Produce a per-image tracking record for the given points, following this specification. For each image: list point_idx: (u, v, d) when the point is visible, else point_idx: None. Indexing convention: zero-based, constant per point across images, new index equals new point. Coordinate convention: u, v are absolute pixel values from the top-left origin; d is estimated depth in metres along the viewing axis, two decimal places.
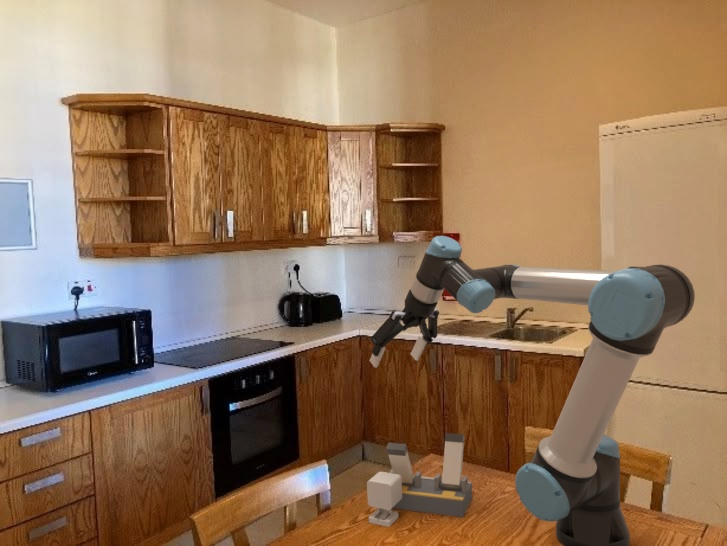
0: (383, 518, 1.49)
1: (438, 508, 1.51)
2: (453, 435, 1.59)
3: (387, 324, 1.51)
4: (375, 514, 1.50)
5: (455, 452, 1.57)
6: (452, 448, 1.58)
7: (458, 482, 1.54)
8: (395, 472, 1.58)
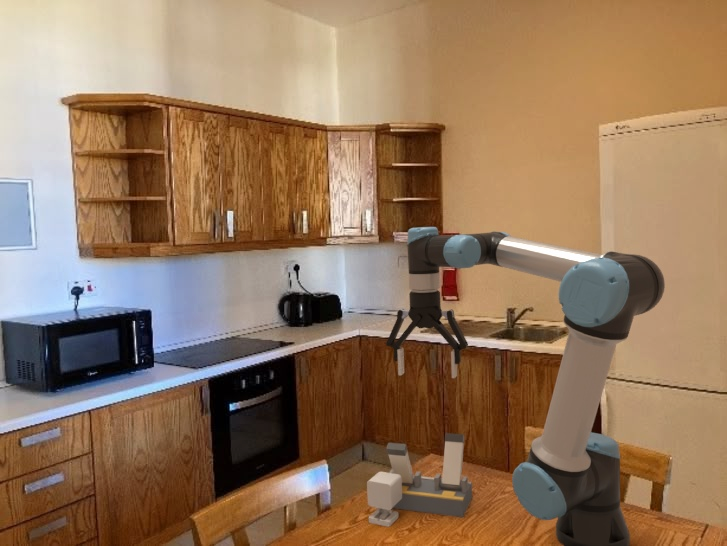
0: (383, 518, 1.49)
1: (438, 508, 1.51)
2: (453, 435, 1.59)
3: None
4: (375, 514, 1.50)
5: (455, 452, 1.57)
6: (452, 448, 1.58)
7: (458, 482, 1.54)
8: (395, 472, 1.58)
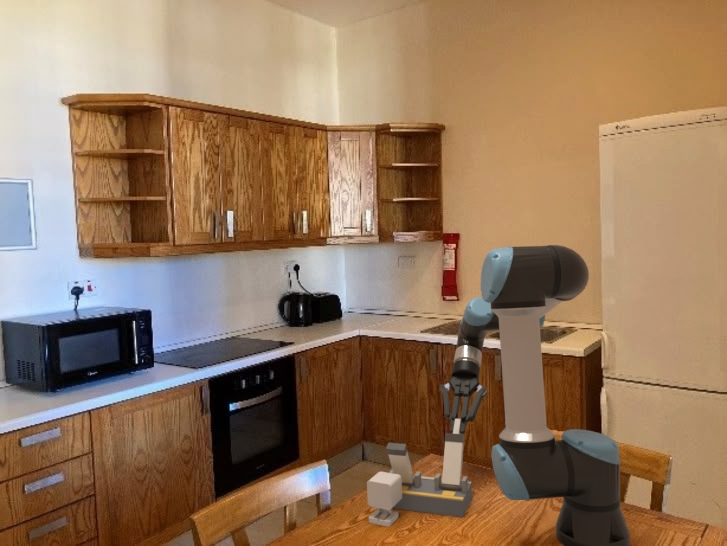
0: (383, 518, 1.49)
1: (438, 508, 1.51)
2: (453, 435, 1.59)
3: None
4: (375, 514, 1.50)
5: (455, 452, 1.57)
6: (452, 448, 1.58)
7: (458, 482, 1.54)
8: (395, 472, 1.58)
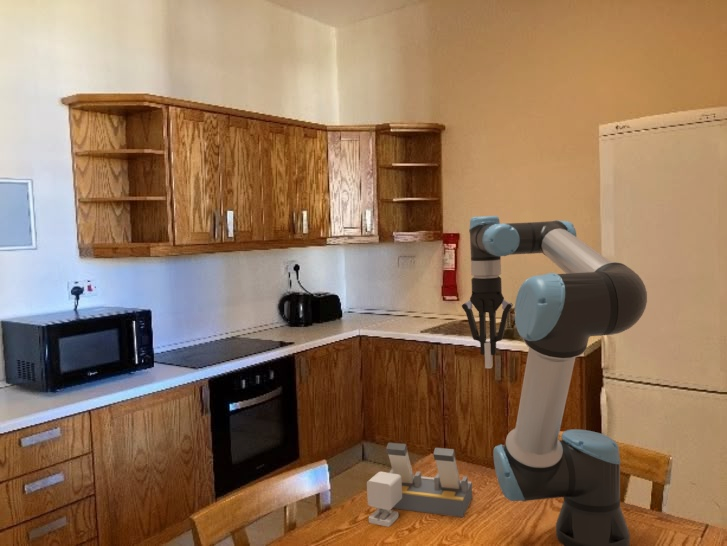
0: (383, 518, 1.49)
1: (438, 508, 1.51)
2: (442, 456, 1.48)
3: None
4: (375, 514, 1.50)
5: (448, 467, 1.50)
6: (444, 464, 1.50)
7: (457, 487, 1.54)
8: (395, 472, 1.58)
